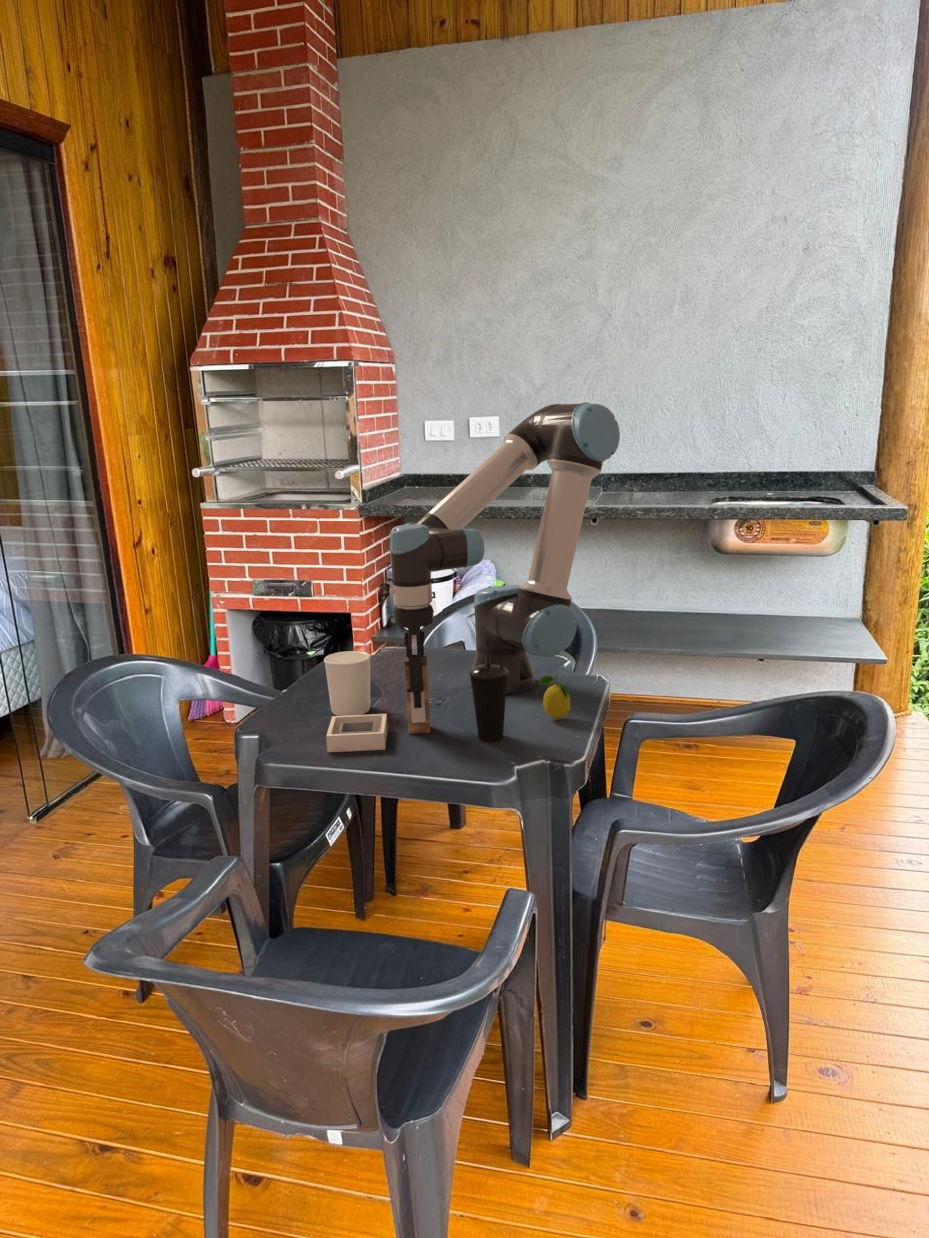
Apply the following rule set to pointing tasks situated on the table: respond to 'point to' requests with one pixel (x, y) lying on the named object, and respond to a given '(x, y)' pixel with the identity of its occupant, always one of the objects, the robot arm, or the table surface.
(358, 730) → the cream open tray
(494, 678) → the drinking cup
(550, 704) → the lemon
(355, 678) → the cream cup
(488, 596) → the robot arm
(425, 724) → the brown bar
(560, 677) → the table surface
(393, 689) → the table surface
